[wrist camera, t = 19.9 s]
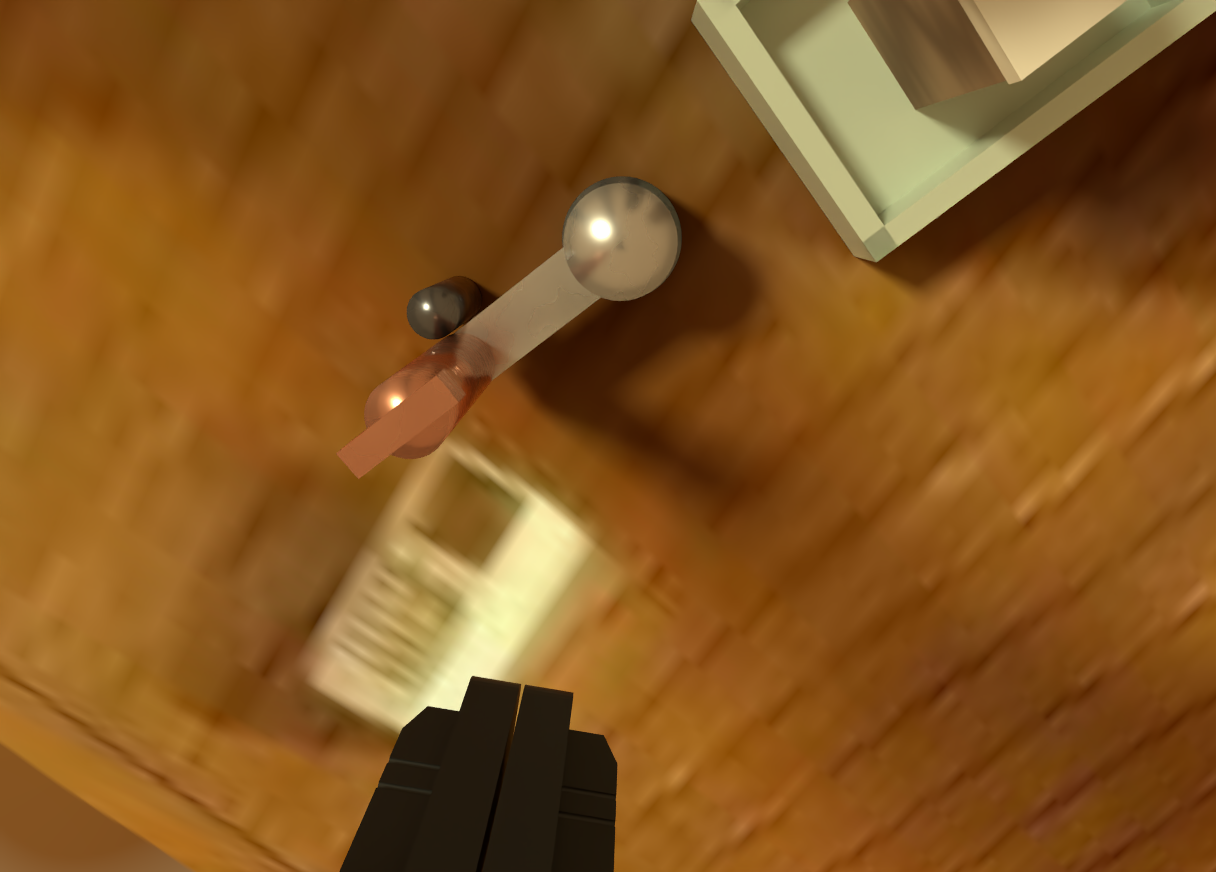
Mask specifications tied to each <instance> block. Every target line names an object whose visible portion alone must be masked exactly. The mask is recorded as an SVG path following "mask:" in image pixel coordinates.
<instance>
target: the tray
mask: <svg viewBox="0 0 1216 872" xmlns="http://www.w3.org/2000/svg"><path fill="white" fill-rule="evenodd" d="M848 1H849V0H697V2H696V6H695V9H694V13H693V16H692V19H691V21H692V22H693V24H694V25H695V27H696V28H697V30H698V31H699V32H700V34H701V35H702V37H703V38H704V40H705V41H706V43H707V44H708V45H709V47H710V48H711V50H712V51H713V53H714V54H715V56H716V57H717V58H718V60H719V61H720V63H721V64H722V66H723V67H724V69H725V70H726V72H727V73H728V74H729V76H730V77H731V79H732V80H733V82H734V83H735V85H736V86H737V87H738V89H739V90H740V92H741V93H742V95H743V96H744V98H745V99H746V100H747V102H748V103H749V105H750V106H751V108H752V109H753V111H754V112H755V113H756V115H757V116H758V118H759V119H760V121H761V122H762V124H763V125H764V126H765V128H766V129H767V131H768V132H769V134H770V135H771V137H772V138H773V140H774V141H775V142H776V144H777V145H778V147H779V148H780V150H781V151H782V153H783V154H784V155H785V157H786V158H787V160H788V161H789V163H790V164H791V166H792V167H793V168H794V170H795V171H796V173H797V174H798V176H799V177H800V179H801V180H802V181H803V183H804V184H805V186H806V187H807V189H808V190H809V192H810V193H811V194H812V196H813V197H814V199H815V200H816V202H817V203H818V205H819V206H820V208H821V209H822V210H823V212H824V213H825V215H826V216H827V218H828V219H829V221H830V222H831V223H832V225H833V226H834V228H835V229H836V231H837V232H838V234H839V235H840V236H841V238H842V239H843V241H844V242H845V244H846V245H847V247H848V248H849V249H850V251H851V252H852V254H853V255H854V256H855V257H859V258H862V259H866V260H870V261H874V262H878V261H879V260H880V259H882V258H883V257H884V256H886V255H887V254H888V253H890V252H891V251H892V250H894V249H895V248H896V247H898V246H899V245H901V244H902V243H903V242H905V241H906V240H907V239H909V238H910V237H911V236H913V235H914V234H915V233H917V232H918V231H919V230H921V229H922V228H923V227H925V226H926V225H927V224H929V223H930V222H932V221H933V220H934V219H936V218H937V217H938V216H940V215H941V214H942V213H944V212H945V211H946V210H948V209H949V208H950V207H952V206H953V205H954V204H956V203H957V202H959V201H960V200H961V199H963V198H964V197H965V196H967V195H968V194H969V193H971V192H972V191H973V190H975V189H976V188H977V187H979V186H980V185H981V184H983V183H984V182H985V181H987V180H988V179H990V178H991V177H992V176H994V175H995V174H996V173H998V172H999V171H1000V170H1002V169H1003V168H1004V167H1006V166H1007V165H1008V164H1010V163H1011V162H1012V161H1014V160H1015V159H1017V158H1018V157H1019V156H1021V155H1022V154H1023V153H1025V152H1026V151H1027V150H1029V149H1030V148H1031V147H1033V146H1034V145H1035V144H1037V143H1038V142H1039V141H1041V140H1042V139H1043V138H1045V137H1046V136H1048V135H1049V134H1050V133H1052V132H1053V131H1054V130H1056V129H1057V128H1058V127H1060V126H1061V125H1062V124H1064V123H1065V122H1066V121H1068V120H1069V119H1070V118H1072V117H1073V116H1075V115H1076V114H1077V113H1079V112H1080V111H1081V110H1083V109H1084V108H1085V107H1087V106H1088V105H1089V104H1091V103H1092V102H1093V101H1095V100H1096V99H1097V98H1099V97H1100V96H1102V95H1103V94H1104V93H1106V92H1107V91H1108V90H1110V89H1111V88H1112V87H1114V86H1115V85H1116V84H1118V83H1119V82H1120V81H1122V80H1123V79H1124V78H1126V77H1127V76H1128V75H1130V74H1131V73H1133V72H1134V71H1135V70H1137V69H1138V68H1139V67H1141V66H1142V65H1143V64H1145V63H1146V62H1147V61H1149V60H1150V59H1151V58H1153V57H1154V56H1155V55H1157V54H1158V53H1160V52H1161V51H1162V50H1164V49H1165V48H1166V47H1168V46H1169V45H1170V44H1172V43H1173V42H1174V41H1176V40H1177V39H1178V38H1180V37H1181V36H1182V35H1184V34H1185V33H1186V32H1188V31H1189V30H1191V29H1192V28H1193V27H1195V26H1196V25H1197V24H1199V23H1200V22H1201V21H1203V20H1204V19H1205V18H1207V17H1208V16H1209V15H1211V14H1212V13H1213V12H1215V11H1216V0H1127V1H1125V2H1124V3H1123V4H1121V5H1120V6H1119V7H1117V8H1116V9H1115V10H1113V11H1112V12H1111V13H1110V14H1108V15H1107V16H1106V17H1104V18H1103V19H1102V20H1100V21H1099V22H1098V23H1096V24H1095V25H1094V26H1092V27H1091V28H1090V29H1089V30H1087V31H1086V32H1085V33H1083V34H1082V35H1081V36H1079V37H1078V38H1077V39H1075V40H1074V41H1073V42H1071V43H1070V44H1069V45H1067V46H1066V47H1065V48H1064V49H1062V50H1061V51H1060V52H1058V53H1057V54H1056V55H1054V56H1053V57H1052V58H1050V59H1049V60H1048V61H1046V62H1045V63H1044V64H1043V65H1041V66H1040V67H1039V68H1037V69H1036V70H1035V71H1033V72H1032V73H1031V74H1029V75H1028V76H1027V77H1025V78H1024V79H1023V80H1022V81H1019V82H1015V83H1012V84H1008V82H1007V81H1004V82H1000V83H997V84H994V85H991V86H988V87H985V88H982V89H979V90H975V91H972V92H969V93H966V94H963V95H960V96H957V97H954V98H950V99H947V100H944V101H941V102H938V103H935V104H932V105H928V106H925V107H922V108H919V109H916V110H915V109H914V107H913V105H912V104H911V102H910V101H909V99H908V98H907V96H906V94H905V93H904V91H903V90H902V88H901V86H900V85H899V83H898V82H897V80H896V79H895V77H894V75H893V74H892V72H891V71H890V69H889V68H888V66H887V64H886V63H885V61H884V60H883V58H882V57H881V55H880V53H879V52H878V50H877V49H876V47H875V46H874V44H873V42H872V41H871V39H870V38H869V36H868V34H867V33H866V31H865V30H864V28H863V27H862V25H861V23H860V22H859V20H858V19H857V17H856V16H855V14H854V12H853V11H852V9H851V8H850V6H849V5H848V3H847V2H848Z"/></svg>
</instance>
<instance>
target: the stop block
mask: <svg viewBox="0 0 1216 872" xmlns="http://www.w3.org/2000/svg"><path fill="white" fill-rule="evenodd" d="M1125 1H1127V0H849V1H848V2H847V3H848V5H849V6H850V8H851V9H852V11H853V12H854V14H855V16H856V17H857V19H858V20H859V22H860V23H861V25H862V27H863V28H864V30H865V31H866V33H867V34H868V36H869V38H870V39H871V41H872V42H873V44H874V46H875V47H876V49H877V50H878V52H879V53H880V55H881V57H882V58H883V60H884V61H885V63H886V64H887V66H888V68H889V69H890V71H891V72H892V74H893V75H894V77H895V79H896V80H897V82H898V83H899V85H900V86H901V88H902V90H903V91H904V93H905V94H906V96H907V98H908V99H909V101H910V102H911V104H912V105H913V107H914V109H915V110H916V109H919V108H922V107H925V106H928V105H932V104H935V103H938V102H941V101H944V100H947V99H950V98H954V97H957V96H960V95H963V94H966V93H969V92H972V91H975V90H979V89H982V88H985V87H988V86H991V85H994V84H997V83H1000V82H1004V81H1007V82H1008V84H1012V83H1015V82H1019V81H1022V80H1023V79H1024V78H1025V77H1027V76H1028V75H1029V74H1031V73H1032V72H1033V71H1035V70H1036V69H1037V68H1039V67H1040V66H1041V65H1043V64H1044V63H1045V62H1046V61H1048V60H1049V59H1050V58H1052V57H1053V56H1054V55H1056V54H1057V53H1058V52H1060V51H1061V50H1062V49H1064V48H1065V47H1066V46H1067V45H1069V44H1070V43H1071V42H1073V41H1074V40H1075V39H1077V38H1078V37H1079V36H1081V35H1082V34H1083V33H1085V32H1086V31H1087V30H1089V29H1090V28H1091V27H1092V26H1094V25H1095V24H1096V23H1098V22H1099V21H1100V20H1102V19H1103V18H1104V17H1106V16H1107V15H1108V14H1110V13H1111V12H1112V11H1113V10H1115V9H1116V8H1117V7H1119V6H1120V5H1121V4H1123V3H1124V2H1125Z"/></svg>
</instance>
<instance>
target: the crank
mask: <svg viewBox="0 0 1216 872" xmlns="http://www.w3.org/2000/svg"><path fill="white" fill-rule="evenodd" d="M563 246H564V247H563V248H562V249H561V250H559V251H558V252H557V253H556V254H554V255H553V256H552V257H551V258H549V259H548V260H547V261H545V262H544V263H543V264H542V265H540V266H539V267H538V268H537V269H535V270H534V271H533V272H532V273H530V274H529V275H528V276H526V277H525V278H524V279H523V280H521V281H520V282H519V283H518V284H516V285H515V286H514V287H513V288H511V289H510V290H509V291H507V292H506V293H505V294H504V295H502V296H501V297H500V298H499V299H497V300H496V301H495V302H494V303H492V304H491V305H490V306H488V307H487V308H486V309H485V310H483V311H482V312H481V313H480V314H478V315H477V316H476V317H474V318H473V319H472V320H471V321H469V322H468V323H467V324H466V325H464V326H463V327H462V328H461V329H459V330H458V331H457V332H455V333H454V334H452V335H449V336H447V337H445V338H444V339H442V340H441V341H440V342H438V343H437V344H436V345H434V346H433V347H431V348H430V349H429V350H427V351H426V352H424V353H423V354H422V355H420V356H419V357H418V358H416V359H415V360H413V361H412V362H411V363H409V364H408V365H406V366H405V367H404V368H402V369H401V370H400V371H398V372H397V373H395V374H394V375H393V376H391V377H390V378H388V379H387V380H386V381H384V382H383V383H381V384H380V385H379V386H378V387H376V388H375V389H374V390H373V392H372V393H371V394H370V396H369V398H368V400H367V402H366V406H365V413H364V414H365V424H366V427H367V429H366V430H365V431H363V432H362V433H361V434H359V435H358V436H357V437H356V438H354V439H353V440H352V441H350V442H349V443H348V444H347V445H346V446H344V447H343V448H342V449H341V450H340V451H338V452H337V453H336V454H337V455H338V456H339V457H340V459H341V460H342V461H343V462H344V463H345V464H346V465H347V466H348V468H349V469H350V470H351V471H352V472H353V473H354V474H355V475H356V476H357V478H358V479H359V478H360V477H362V476H363V475H364V474H366V473H367V472H368V471H369V470H371V469H372V468H373V467H375V466H376V465H377V464H379V463H380V462H381V461H383V460H384V459H385V458H387V457H388V456H389V455H390V454H391V455H393V456H396V457H399V458H404V459H416V458H421V457H424V456H427V455H429V454H431V453H432V452H434V451H435V450H436V449H437V448H438V447H439V446H440V445H441V444H442V442H443V441H444V440H445V439H446V437H447V436H448V435H449V434H450V432H451V431H452V430H453V429H454V427H455V426H456V425H457V424H458V422H459V421H460V420H461V419H462V417H463V416H464V415H465V414H466V412H467V411H468V410H469V409H470V407H471V406H472V405H473V404H474V402H475V401H476V400H477V399H478V397H479V396H480V395H481V394H482V393H483V391H484V390H485V389H486V388H487V386H488V385H489V384H490V382H491V381H492V380H493V379H494V378H496V377H497V376H498V375H500V374H501V373H502V372H503V371H505V370H506V369H507V368H509V367H510V366H511V365H513V364H514V363H515V362H517V361H518V360H519V359H521V358H522V357H523V356H525V355H526V354H527V353H528V352H530V351H531V350H532V349H534V348H535V347H536V346H538V345H539V344H540V343H542V342H543V341H544V340H546V339H547V338H548V337H549V336H551V335H552V334H553V333H555V332H556V331H557V330H559V329H560V328H561V327H563V326H564V325H565V324H567V323H568V322H569V321H570V320H572V319H573V318H574V317H576V316H577V315H578V314H580V313H581V312H582V311H584V310H585V309H586V308H588V307H589V306H590V305H592V304H593V303H594V302H595V301H597V300H598V299H599V298H601V297H602V298H604V299H609V300H615V301H626V300H632V299H636V298H639V297H642V296H644V295H646V294H648V293H650V292H651V291H653V290H654V289H655V288H656V287H658V286H659V285H660V284H661V283H662V282H663V281H664V279H665V278H666V277H667V275H668V274H669V272H670V270H671V268H672V266H673V264H674V261H675V258H676V253H677V246H678V238H677V230H676V226H675V223H674V220H673V217H672V215H671V213H670V212H669V210H668V208H667V207H666V206H665V204H664V203H663V202H662V201H661V200H660V199H659V198H658V197H657V196H656V195H654V194H653V193H652V192H650V191H648V190H647V189H645V188H643V187H640V186H637V185H633V184H628V183H613V184H608V185H604V186H601V187H599V188H597V189H595V190H593V191H591V192H590V193H588V194H587V195H585V196H584V197H583V198H582V199H581V200H580V201H579V202H578V203H577V205H576V206H575V207H574V209H573V210H572V212H571V213H570V216H569V218H568V220H567V223H566V226H565V231H564V239H563Z"/></svg>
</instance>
